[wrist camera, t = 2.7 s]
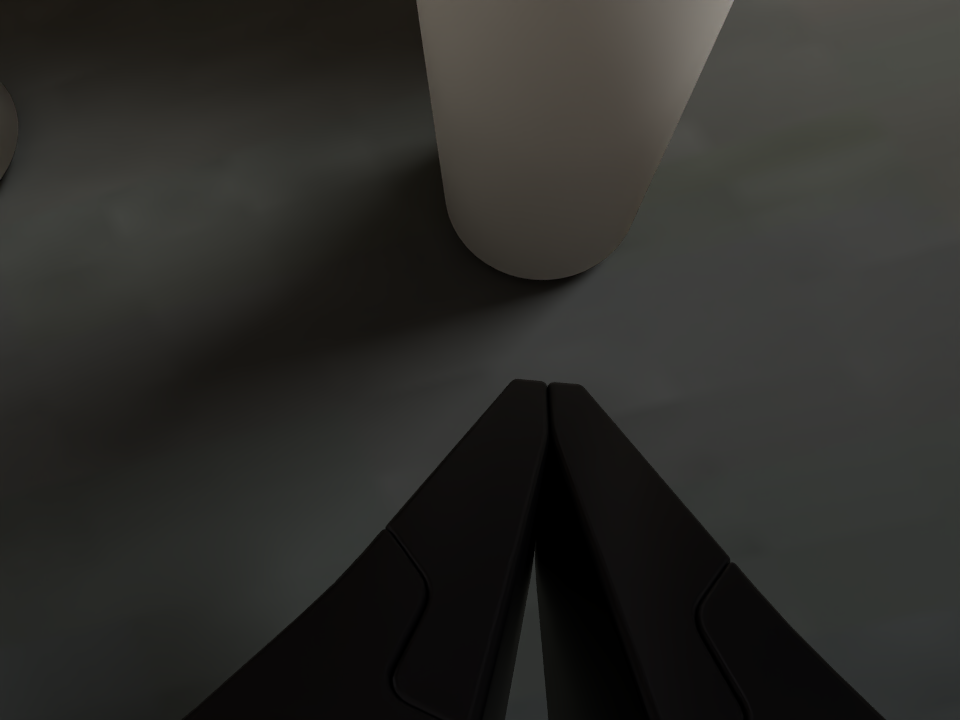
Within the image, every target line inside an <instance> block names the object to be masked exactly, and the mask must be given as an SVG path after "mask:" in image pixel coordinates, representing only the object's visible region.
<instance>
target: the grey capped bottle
mask: <svg viewBox="0 0 960 720" xmlns="http://www.w3.org/2000/svg"><path fill="white" fill-rule="evenodd" d="M17 139H18V116H17V112H16V108H15V104H14V102H13V100H12V98H11V95H10V94H9V92H8V91H7V89H6V88H5V86H4V85H3V84H2V83H1V82H0V180H1V178H2V176H3V175H4V173H5V172H6V170H7V168H8V166H9V164H10V162H11V160H12V158H13V155H14V152H15V149H16V144H17Z"/></svg>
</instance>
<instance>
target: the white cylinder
mask: <svg viewBox="0 0 960 720" xmlns="http://www.w3.org/2000/svg"><path fill="white" fill-rule="evenodd" d="M733 1H734V0H416V2H417V9H418V16H419V23H420V30H421V37H422V44H423V51H424V58H425V65H426V71H427V78H428V85H429V92H430V99H431V106H432V113H433V120H434V127H435V134H436V141H437V148H438V155H439V161H440V168H441V175H442V182H443V189H444V196H445V203H446V208H447V212H448V216H449V218H450V221H451V223H452V225H453V228H454V229H455V231H456V233H457V235H458V236H459V238H460V239H461V240H462V242H463V243H464V244H465V246H466V247H467V248H468V249H469V250H470V251H471V252H472V253H473V254H474V255H475V256H477V257H478V258H479V259H481V260H482V261H483V262H484V263H486V264H488V265H489V266H491V267H493V268H495V269H496V270H499V271H501V272H504V273H506V274H509V275H512V276H516V277H520V278H525V279H532V280H552V279H561V278H565V277H569V276H573V275H576V274H578V273H581V272H584V271H586V270H588V269H590V268H592V267H593V266H595V265H597V264H598V263H600V262H601V261H603V260H604V259H605V258H607V257H608V256H609V255H610V254H611V253H612V252H613V251H614V250H615V249H616V248H617V247H618V245H619V244H620V243H621V242H622V241H623V239H624V237H625V236H626V234H627V232H628V231H629V229H630V227H631V225H632V222H633V220H634V218H635V216H636V214H637V211H638V209H639V207H640V205H641V203H642V200H643V198H644V196H645V194H646V192H647V190H648V187H649V185H650V183H651V181H652V179H653V176H654V174H655V172H656V170H657V168H658V165H659V163H660V161H661V159H662V157H663V155H664V152H665V150H666V148H667V146H668V144H669V141H670V139H671V137H672V135H673V133H674V130H675V128H676V126H677V124H678V122H679V119H680V117H681V115H682V113H683V111H684V109H685V106H686V104H687V102H688V100H689V98H690V95H691V93H692V91H693V89H694V87H695V84H696V82H697V80H698V78H699V76H700V74H701V71H702V69H703V67H704V65H705V63H706V60H707V58H708V56H709V54H710V52H711V49H712V47H713V45H714V43H715V41H716V38H717V36H718V34H719V32H720V30H721V28H722V25H723V23H724V21H725V19H726V17H727V14H728V12H729V10H730V8H731V6H732V3H733Z"/></svg>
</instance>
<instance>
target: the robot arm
mask: <svg viewBox="0 0 960 720" xmlns="http://www.w3.org/2000/svg"><path fill="white" fill-rule="evenodd" d="M534 551H535V570H536V584H537V596H538V607H539V618H540V630H541V641H542V652H543V664H544V675H545V686H546V698H547V709H548V720H886V719H885V718H884V717H883V716H882V715H880V714H879V713H878V712H877V711H876V710H875V709H874V708H873V707H872V706H871V705H870V704H869V703H868V702H867V701H866V700H865V699H864V698H863V697H862V696H861V695H860V694H859V693H858V692H857V691H856V690H855V689H854V688H852V687H851V686H850V685H849V684H848V683H847V682H846V681H845V680H844V679H843V678H842V677H841V676H840V675H839V674H838V673H837V672H836V671H835V670H834V669H833V668H832V667H831V666H830V665H829V664H828V663H827V662H826V661H825V660H824V659H823V658H822V657H821V656H820V655H819V654H818V653H817V652H816V651H815V650H814V649H813V648H812V647H811V646H810V645H809V644H808V643H807V642H806V641H805V640H804V639H803V638H802V637H801V636H800V635H799V634H798V633H797V632H796V631H795V630H794V629H793V628H792V627H791V626H790V625H789V624H788V623H787V621H786V620H785V619H784V618H783V617H782V616H781V615H780V614H779V613H778V611H777V610H776V609H775V608H774V607H773V606H772V605H771V604H770V603H769V602H768V600H767V599H766V598H765V597H764V596H763V595H762V594H761V593H760V592H759V590H758V589H757V588H756V587H755V586H754V585H753V584H752V582H751V581H750V580H749V579H748V578H747V577H746V575H745V574H744V573H743V572H742V571H741V570H740V568H739V567H738V566H737V565H736V564H735V563H733V562H731V563H730V557H729V556H728V555H727V554H726V553H725V551H724V550H723V549H722V548H721V547H720V546H719V544H718V543H717V542H716V541H715V540H714V539H713V537H712V536H711V535H710V534H709V533H708V532H707V530H706V529H705V528H704V527H703V526H702V525H701V523H700V522H699V521H698V520H697V519H696V518H695V516H694V515H693V514H692V513H691V512H690V511H689V509H688V508H687V507H686V506H685V505H684V504H683V502H682V501H681V500H680V499H679V498H678V497H677V495H676V494H675V493H674V492H673V491H672V490H671V488H670V487H669V486H668V485H667V484H666V483H665V481H664V480H663V479H662V478H661V477H660V476H659V474H658V473H657V472H656V471H655V470H654V469H653V467H652V466H651V465H650V464H649V463H648V462H647V460H646V459H645V458H644V457H643V456H642V455H641V453H640V452H639V451H638V450H637V449H636V448H635V446H634V445H633V444H632V443H631V442H630V441H629V439H628V438H627V437H626V436H625V435H624V434H623V432H622V431H621V430H620V429H619V428H618V427H617V425H616V424H615V423H614V422H613V421H612V419H611V418H610V417H609V416H608V415H607V414H606V412H605V411H604V410H603V409H602V408H601V407H600V405H599V404H598V403H597V402H596V401H595V400H594V398H593V397H592V396H591V395H590V394H589V393H588V391H587V390H586V389H585V388H584V387H583V386H581V385H579V384H569V383H557V382H553V383H550V384H549V385H548V387H547V385H546V384H545V383H544V382H542V381H534V380H523V379H515V380H512V381H511V382H510V383H509V385H508V386H507V387H506V388H505V389H504V390H503V392H502V393H501V394H500V395H499V396H498V397H497V398H496V400H495V401H494V402H493V403H492V404H491V405H490V407H489V408H488V409H487V410H486V411H485V412H484V413H483V415H482V416H481V417H480V418H479V419H478V420H477V422H476V423H475V424H474V425H473V426H472V427H471V428H470V430H469V431H468V432H467V433H466V434H465V435H464V437H463V438H462V439H461V440H460V441H459V442H458V443H457V445H456V446H455V447H454V448H453V449H452V450H451V452H450V453H449V454H448V455H447V456H446V457H445V458H444V460H443V461H442V462H441V463H440V464H439V465H438V467H437V468H436V469H435V470H434V471H433V472H432V473H431V475H430V476H429V477H428V478H427V479H426V480H425V482H424V483H423V484H422V485H421V486H420V487H419V488H418V490H417V491H416V492H415V493H414V494H413V495H412V497H411V498H410V499H409V500H408V501H407V502H406V503H405V505H404V506H403V507H402V508H401V509H400V510H399V512H398V513H397V514H396V515H395V516H394V517H393V518H392V520H391V521H390V522H389V523H388V524H387V525H386V529H384V530H382V531H381V532H380V533H379V534H378V535H377V536H376V538H375V539H374V540H373V541H372V542H371V543H370V545H369V546H368V547H367V548H366V549H365V550H364V552H363V553H362V554H361V555H360V556H359V557H358V558H357V559H356V560H355V561H354V562H353V563H352V564H351V566H350V567H349V568H348V569H347V570H346V571H345V572H344V573H343V574H342V575H341V576H340V577H339V578H338V579H337V580H336V582H335V583H334V584H333V585H332V586H330V587H329V588H328V589H327V590H326V591H325V592H324V593H323V594H322V595H321V596H320V597H319V598H318V599H317V600H315V601H314V602H313V603H312V604H311V605H310V606H309V607H308V608H307V609H306V610H305V611H304V612H303V613H302V614H301V615H299V616H298V617H297V618H296V619H295V620H294V621H293V622H292V623H291V624H289V625H288V626H287V627H286V628H285V629H284V630H283V631H282V632H280V633H279V634H278V635H277V636H276V637H275V638H274V639H273V640H271V641H270V642H269V643H268V644H267V645H266V646H265V647H264V648H262V649H261V650H260V651H259V652H258V653H257V654H256V655H255V656H253V657H252V658H251V659H250V660H249V661H248V662H247V663H246V664H244V665H243V666H242V667H241V668H240V669H239V670H238V671H237V672H235V673H234V674H233V675H232V676H231V677H230V678H229V679H228V680H226V681H225V682H224V683H223V684H222V685H221V686H220V687H219V688H217V689H216V690H215V691H214V692H213V693H212V694H211V695H210V696H208V697H207V698H206V699H205V700H204V701H203V702H202V703H201V704H199V705H198V706H197V707H196V708H195V709H194V710H193V711H191V712H190V713H189V714H188V715H186V716H185V717H184V718H183V719H182V720H505V715H506V710H507V704H508V699H509V693H510V688H511V682H512V677H513V671H514V666H515V661H516V655H517V650H518V644H519V639H520V633H521V628H522V622H523V617H524V611H525V606H526V600H527V595H528V589H529V584H530V579H531V572H532V565H533V558H534Z"/></svg>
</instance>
